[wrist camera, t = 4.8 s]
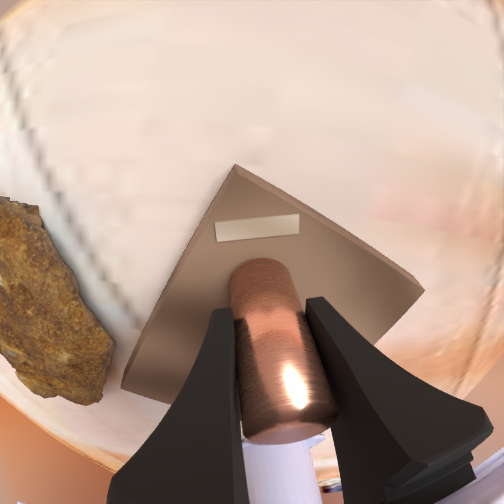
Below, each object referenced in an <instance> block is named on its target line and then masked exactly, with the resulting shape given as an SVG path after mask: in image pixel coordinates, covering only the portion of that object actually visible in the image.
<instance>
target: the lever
mask: <svg viewBox="0 0 504 504" xmlns="http://www.w3.org/2000/svg"><path fill="white" fill-rule="evenodd" d="M230 296H231V307H232V310H233V317H234V327H235V339H236V369H237V380H238V390H239V401H240V411H241V422H242V432H243V439H244V441H245V442H247V443H249V444H252V445H282V444H290V443H295V442H299V441H303V440H306V439H309V438H311V437H314V436H316V435H318V434H320V433H322V432H324V431H325V430H327V429H328V428H330V427H331V426H332V425H333V424H334V423H335V422H336V421H337V419H338V416H339V412H338V409H337V406H336V403H335V400H334V397H333V394H332V391H331V388H330V385H329V382H328V379H327V376H326V373H325V370H324V367H323V364H322V362H321V359H320V356H319V353H318V350H317V347H316V344H315V341H314V338H313V336H312V333H311V330H310V327H309V324H308V321H307V319H306V316H305V313H304V310H303V307H302V305H301V302H300V299H299V296H298V294H297V291H296V288H295V285H294V283H293V280H292V277H291V274H290V272H289V270H288V269H287V267H286V266H285V265H283V264H282V263H281V262H279V261H277V260H274V259H269V258H258V259H253V260H250V261H248V262H246V263H244V264H242V265H241V266H240V267H238V268H237V269H236V271H235V272H234V273H233V275H232V277H231V280H230Z"/></svg>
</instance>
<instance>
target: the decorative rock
mask: <svg viewBox="0 0 504 504" xmlns="http://www.w3.org/2000/svg"><path fill="white" fill-rule="evenodd" d="M115 347H116V342H115V341H114V340H113V339H112V338H110V337H109V335H108V334H107V332H106V330H105V328H104V327H103V326H102V324H101V323H100V322H99V321H98V319H97V318H96V317H95V315H94V314H93V313H92V311H91V310H90V309H89V308H88V307H87V306H85V305H84V303H83V302H82V300H81V298H80V295H79V287H78V283H77V281H76V278H75V276H74V273H73V271H72V270H71V269H70V268H69V267H68V266H67V265H66V263H65V262H64V261H63V260H62V259H61V257H60V255H59V253H58V252H57V250H56V248H55V246H54V245H53V242H52V240H51V238H50V235H49V233H48V231H47V230H45V229H43V228H42V219H41V218H40V216H39V212H38V206H37V205H27V204H26V203H19V202H17V201H10V197H3V196H0V354H2V355H3V356H4V357H5V358H6V359H7V361H8V362H9V363H10V364H11V365H12V367H13V368H15V369H16V372H15V373H16V375H17V377H18V378H19V380H20V381H21V382H22V383H23V384H24V385H25V386H26V387H28V388H29V389H30V390H31V391H32V392H33V393H34V394H37V395H40V396H41V397H43V398H49V397H56V396H57V395H59V396H62V397H63V398H65V399H67V400H69V401H71V402H74V403H77V404H81V405H85V406H87V405H90V404H93V403H95V402H97V403H99V401H100V400H101V399H102V397H103V395H102V392H103V386H104V384H105V383H106V379H105V373H106V367H107V366H108V365H109V364H110V363H111V357H112V352H113V350H114V349H115Z"/></svg>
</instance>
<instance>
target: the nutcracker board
mask: <svg viewBox="0 0 504 504" xmlns="http://www.w3.org/2000/svg"><path fill="white" fill-rule="evenodd" d="M258 258H269V259H274V260H277V261H279V262H281V263H282V264H283V265H285V266H286V267H287V269H288V270H289V272H290V274H291V277H292V280H293V283H294V285H295V288H296V291H297V294H298V296H299V299H300V302H301V305H302V307H303V310H304V313H305V306H306V299H307V298H314V297H321V296H323V297H324V298H325V299H326V300H327V301H328V302H329V303H330V304H331V305H332V306H333V307H334V308H335V309H336V310H337V311H338V312H339V313H340V314H341V315H342V316H343V317H344V318H345V319H346V321H347V322H349V323H350V324H351V325H352V326H353V327H354V328H355V329H356V330H357V331H358V332H359V333H360V334H361V335H362V336H363V337H364V338H365V339H366V340H368V341H369V342H370V343H371V344H372V345H374V344H375V343H376V342H377V341H378V340H379V339H380V338H381V337H382V336H383V335H384V334H385V333H386V332H387V331H388V330H389V329H390V328H391V327H392V326H393V325H394V324H395V323H396V322H397V321H398V320H399V319H400V318H401V317H402V316H403V315H404V314H405V313H406V312H407V311H408V309H409V308H410V307H411V306H412V305H413V304H414V303H415V302H416V301H417V299H418V298H419V297H420V296H421V295H422V294H423V293H424V291H425V290H424V288H423V287H422V286H421V285H420V283H419V282H418V281H417V280H416V279H415V278H414V276H413V275H411V274H410V273H409V272H407V271H406V270H404V269H403V268H402V267H400V266H399V265H397V264H396V263H394V262H393V261H392V260H390V259H389V258H387V257H386V256H384V255H383V254H381V253H380V252H379V251H377V250H376V249H374V248H373V247H371V246H370V245H368V244H367V243H365V242H364V241H362V240H361V239H359V238H358V237H356V236H355V235H353V234H352V233H350V232H348V231H347V230H345V229H344V228H342V227H341V226H339V225H338V224H336V223H334V222H333V221H331V220H330V219H328V218H327V217H325V216H323V215H322V214H320V213H319V212H317V211H315V210H314V209H312V208H310V207H309V206H307V205H306V204H304V203H302V202H301V201H299V200H297V199H296V198H294V197H292V196H291V195H289V194H287V193H286V192H284V191H282V190H280V189H279V188H277V187H275V186H274V185H272V184H270V183H268V182H267V181H265V180H263V179H261V178H260V177H258V176H256V175H254V174H253V173H251V172H249V171H247V170H245V169H244V168H242V167H240V166H238V165H236V164H235V165H234V167H233V168H232V170H231V171H230V173H229V175H228V176H227V178H226V180H225V181H224V183H223V185H222V186H221V188H220V190H219V191H218V193H217V195H216V196H215V198H214V200H213V202H212V203H211V205H210V207H209V208H208V210H207V212H206V214H205V215H204V217H203V219H202V221H201V222H200V224H199V226H198V228H197V229H196V231H195V233H194V235H193V237H192V238H191V240H190V242H189V244H188V246H187V247H186V249H185V251H184V253H183V255H182V256H181V258H180V260H179V262H178V264H177V266H176V268H175V269H174V271H173V273H172V275H171V277H170V279H169V281H168V283H167V285H166V286H165V288H164V290H163V292H162V294H161V296H160V298H159V300H158V302H157V304H156V306H155V308H154V310H153V312H152V314H151V316H150V318H149V320H148V322H147V324H146V326H145V328H144V330H143V332H142V334H141V336H140V338H139V340H138V342H137V344H136V346H135V349H134V351H133V353H132V355H131V357H130V359H129V361H128V363H127V366H126V368H125V370H124V374H123V379H122V383H121V389H124V390H127V391H130V392H132V393H135V394H138V395H141V396H144V397H148V398H151V399H154V400H157V401H160V402H164V403H167V404H171V405H172V404H173V402H174V401H175V399H176V397H177V396H178V394H179V392H180V390H181V389H182V387H183V385H184V383H185V381H186V379H187V377H188V375H189V373H190V371H191V369H192V367H193V365H194V362H195V360H196V358H197V356H198V353H199V351H200V348H201V345H202V343H203V340H204V338H205V335H206V332H207V329H208V325H209V322H210V318H211V313H212V311H213V310H214V309H220V308H230V307H231V296H230V280H231V277H232V275H233V273H234V272H235V271H236V269H237V268H238V267H240V266H241V265H242V264H244V263H246V262H248V261H250V260H253V259H258ZM240 421H241V411H240Z"/></svg>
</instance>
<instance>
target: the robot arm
mask: <svg viewBox="0 0 504 504" xmlns="http://www.w3.org/2000/svg"><path fill="white" fill-rule="evenodd" d="M305 316H306V319H307V321H308V324H309V327H310V330H311V333H312V336H313V338H314V341H315V344H316V347H317V350H318V353H319V356H320V359H321V362H322V364H323V367H324V370H325V373H326V376H327V379H328V382H329V385H330V388H331V391H332V394H333V397H334V400H335V403H336V406H337V409H338V412H339V416H338V419H337V421H336V422H335V423H334V424H333V425H332V426H331V427H330V428H331V432H332V436H333V441H334V445H335V450H336V455H337V460H338V466H339V472H340V478H341V484H342V491H343V499H344V504H504V447H503V448H501V449H500V450H499V451H497V452H496V453H495V454H493V455H492V456H491V457H489V458H488V459H486V460H485V461H483V462H482V463H480V464H479V465H477V466H476V467H474V468H473V469H472V466H471V464H470V462H471V461H472V460H473V456H472V453H471V451H472V450H473V449H474V448H476V447H477V446H478V445H479V444H481V443H482V442H483V441H484V440H485V439H486V438H487V437H489V436H490V435H491V433H492V432H493V429H494V427H493V425H492V424H491V422H490V420H489V418H488V416H487V414H486V413H485V411H484V409H483V408H482V407H480V406H477V405H474V404H472V403H469V402H466V401H464V400H461V399H458V398H456V397H454V396H451V395H449V394H447V393H445V392H443V391H441V390H439V389H437V388H435V387H433V386H431V385H429V384H428V383H426V382H424V381H422V380H421V379H419V378H417V377H415V376H414V375H412V374H411V373H409V372H407V371H406V370H404V369H403V368H402V367H400V366H399V365H397V364H396V363H395V362H393V361H392V360H390V359H389V358H388V357H387V356H385V355H384V354H383V353H382V352H380V351H379V350H378V349H377V348H376V347H374V346H373V345H372V344H371V343H370V342H369V341H368V340H366V339H365V338H364V337H363V336H362V335H361V334H360V333H359V332H358V331H357V330H356V329H355V328H354V327H353V326H352V325H351V324H350V323H349V322H347V321H346V319H345V318H344V317H343V316H342V315H341V314H340V313H339V312H338V311H337V310H336V309H335V308H334V307H333V306H332V305H331V304H330V303H329V302H328V301H327V300H326V299H325V298H324V297H323V296H321V297H314V298H307V299H306V306H305ZM323 440H325V435H316V436H314V437H311V438H309V439H306V440H303V441H299V442H295V443H290V444H282V445H252V444H249V443H247V442H245V441H244V442H243V443H242V439H241V425H240V401H239V390H238V380H237V369H236V339H235V327H234V317H233V310H232V307H230V308H220V309H214V310H213V311H212V313H211V318H210V322H209V325H208V329H207V332H206V335H205V338H204V340H203V343H202V345H201V348H200V351H199V353H198V356H197V358H196V360H195V362H194V365H193V367H192V369H191V371H190V373H189V375H188V377H187V379H186V381H185V383H184V385H183V387H182V389H181V390H180V392H179V394H178V396H177V397H176V399H175V401H174V402H173V404H172V405H171V407H170V409H169V410H168V412H167V413H166V415H165V416H164V418H163V419H162V421H161V422H160V423H159V425H158V426H157V427H156V429H155V430H154V431H153V433H152V434H151V435H150V436H149V438H148V439H147V440H146V441H145V442H144V444H143V445H142V446H141V447H140V449H139V450H138V451H137V452H136V453H135V454H134V455H133V456H132V457H131V458H130V460H129V461H128V462H127V463H126V464H125V465H124V466H123V467H122V468H121V469H120V470H119V471H118V472H117V473H116V474H115V475H114V476H113V477H112V479H111V482H110V486H109V490H108V495H107V504H323V503H322V499H321V495H320V491H319V486H318V482H317V478H316V474H315V469H314V465H313V461H312V457H311V452H310V448H311V447H313V446H315V445H317V444H318V443H320V442H322V441H323ZM17 504H26V503H23V502H21V501H18V502H17Z"/></svg>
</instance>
